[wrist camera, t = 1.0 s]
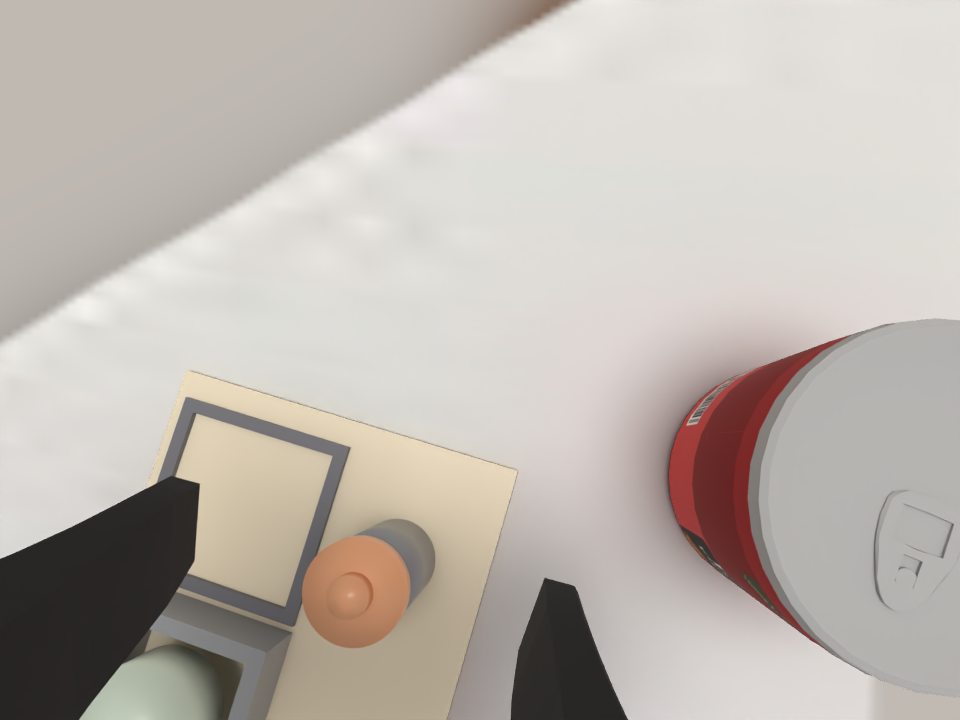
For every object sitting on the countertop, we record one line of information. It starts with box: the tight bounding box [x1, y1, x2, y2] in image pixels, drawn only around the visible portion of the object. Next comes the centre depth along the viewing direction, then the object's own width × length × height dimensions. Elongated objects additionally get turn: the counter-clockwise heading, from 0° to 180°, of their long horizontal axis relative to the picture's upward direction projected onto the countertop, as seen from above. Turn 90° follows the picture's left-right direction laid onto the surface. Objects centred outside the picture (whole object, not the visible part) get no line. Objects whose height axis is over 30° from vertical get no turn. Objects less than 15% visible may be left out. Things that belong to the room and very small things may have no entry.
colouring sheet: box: [144, 371, 518, 720], centre depth 25 cm, size 14×14×1 cm
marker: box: [302, 519, 435, 648], centre depth 22 cm, size 3×3×6 cm
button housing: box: [122, 592, 293, 720], centre depth 24 cm, size 6×6×2 cm
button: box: [79, 645, 224, 720], centre depth 22 cm, size 4×4×3 cm
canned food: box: [669, 319, 960, 697], centre depth 19 cm, size 8×8×11 cm
